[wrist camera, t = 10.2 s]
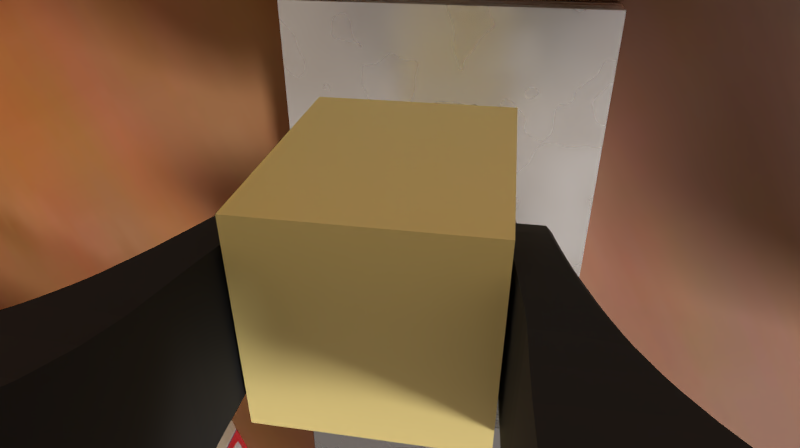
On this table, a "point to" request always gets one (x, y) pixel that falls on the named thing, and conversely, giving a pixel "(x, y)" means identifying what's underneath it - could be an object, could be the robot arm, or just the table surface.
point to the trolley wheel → (473, 89)
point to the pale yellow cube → (377, 271)
